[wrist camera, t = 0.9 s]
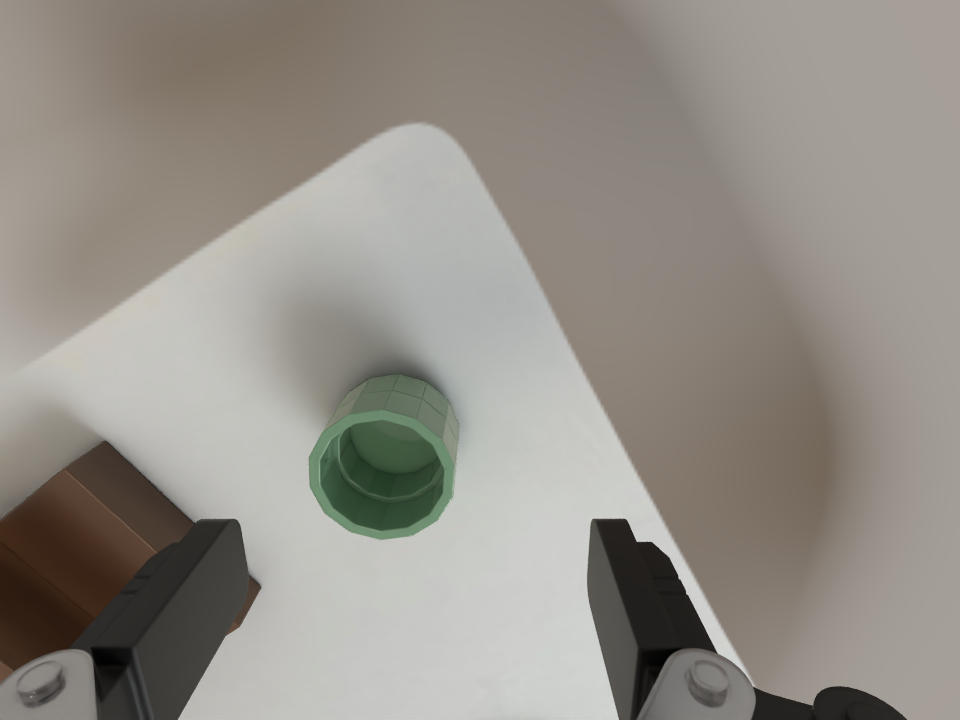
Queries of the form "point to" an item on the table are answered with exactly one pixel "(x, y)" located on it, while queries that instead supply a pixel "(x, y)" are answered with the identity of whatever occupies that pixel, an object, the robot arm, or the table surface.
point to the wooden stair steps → (79, 552)
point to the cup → (387, 458)
